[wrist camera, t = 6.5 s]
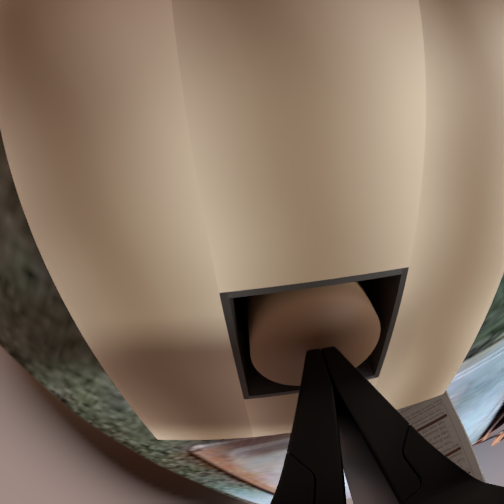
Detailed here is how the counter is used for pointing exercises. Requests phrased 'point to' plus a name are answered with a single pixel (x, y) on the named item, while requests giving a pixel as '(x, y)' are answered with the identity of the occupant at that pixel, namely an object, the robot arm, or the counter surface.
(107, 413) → the counter surface
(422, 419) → the supplement box
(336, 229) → the block
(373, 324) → the peg
